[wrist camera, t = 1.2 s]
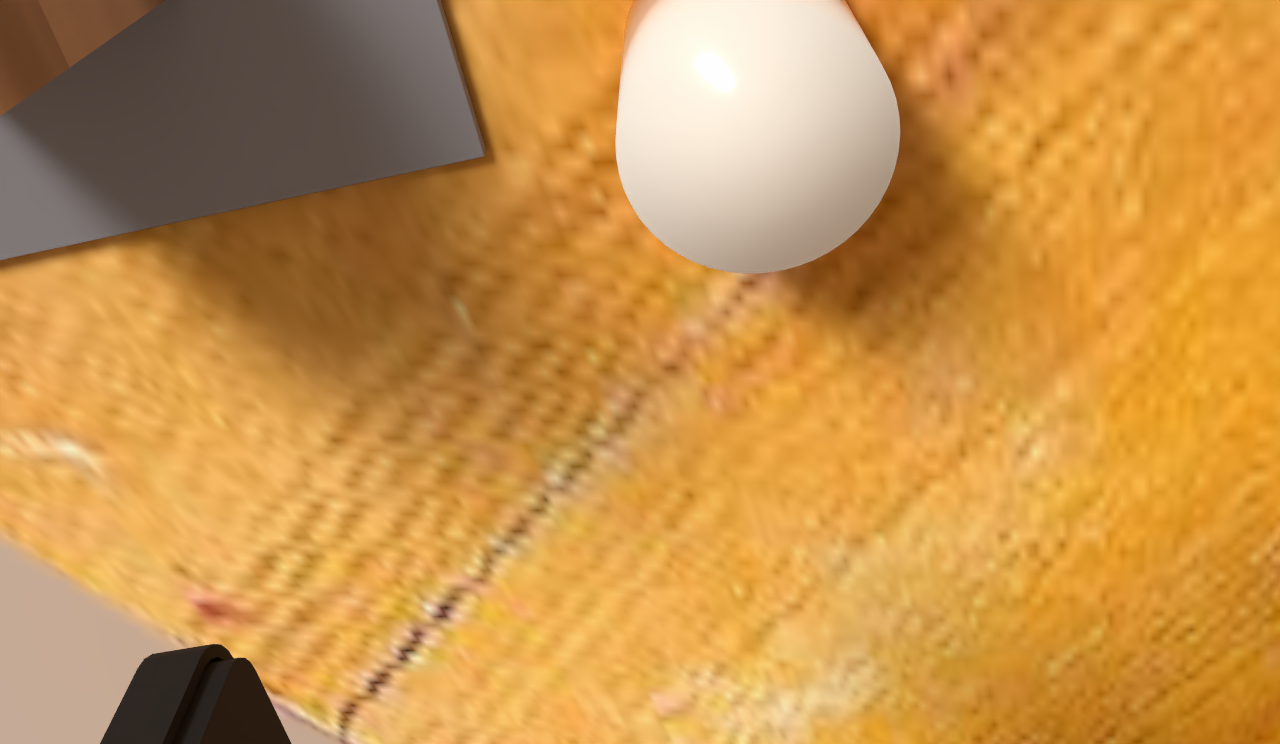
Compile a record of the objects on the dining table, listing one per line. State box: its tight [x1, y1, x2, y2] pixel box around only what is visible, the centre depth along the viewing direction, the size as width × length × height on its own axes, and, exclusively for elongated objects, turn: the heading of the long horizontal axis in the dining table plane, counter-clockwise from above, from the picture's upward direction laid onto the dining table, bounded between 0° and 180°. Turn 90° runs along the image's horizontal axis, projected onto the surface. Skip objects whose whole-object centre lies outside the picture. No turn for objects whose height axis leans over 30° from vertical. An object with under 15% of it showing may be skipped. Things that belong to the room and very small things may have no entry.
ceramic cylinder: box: [616, 0, 900, 274], centre depth 24 cm, size 5×5×6 cm
